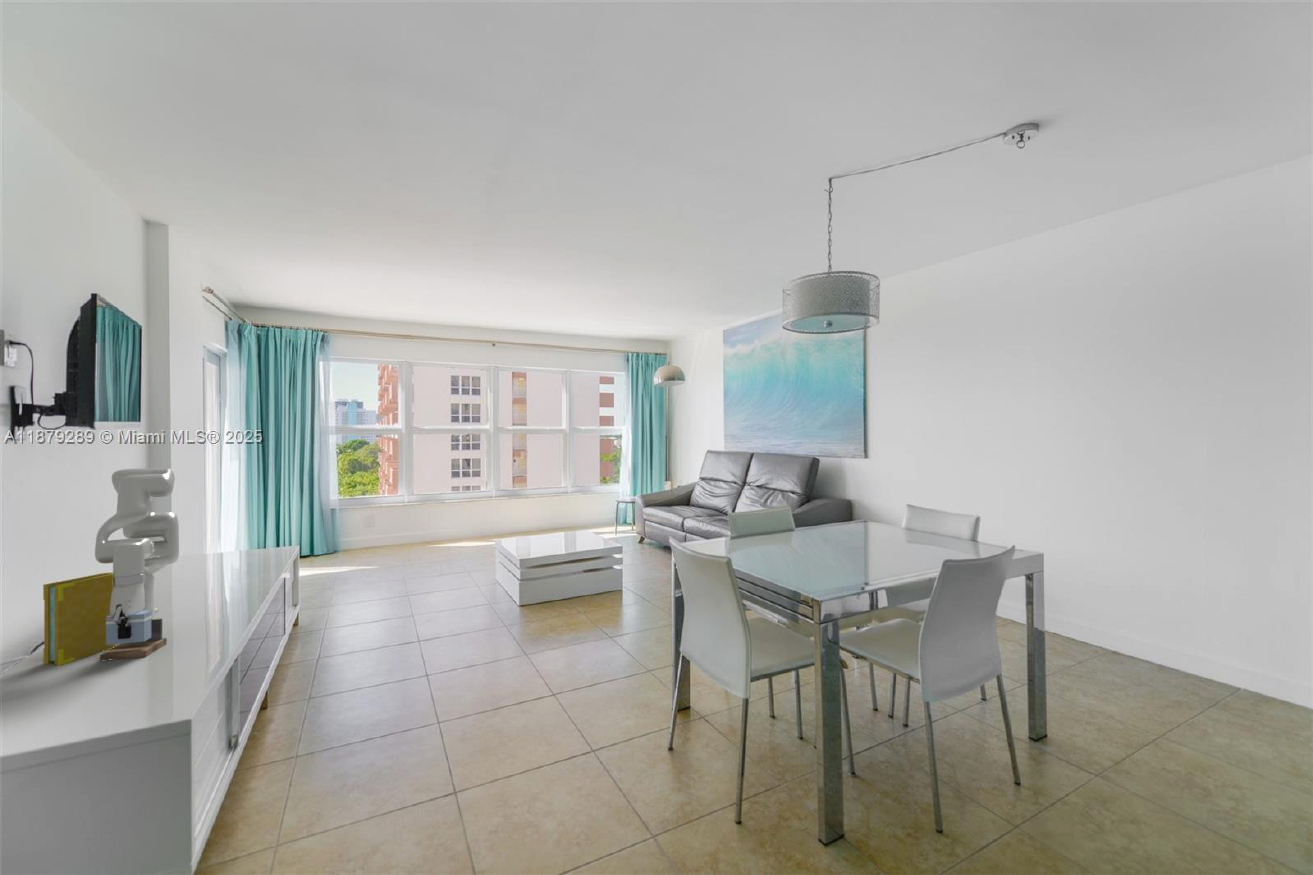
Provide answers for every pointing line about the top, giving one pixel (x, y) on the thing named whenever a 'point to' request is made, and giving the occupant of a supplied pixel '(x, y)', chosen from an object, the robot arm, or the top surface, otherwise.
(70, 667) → the top surface
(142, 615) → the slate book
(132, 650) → the brown l-shaped piece
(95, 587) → the book
